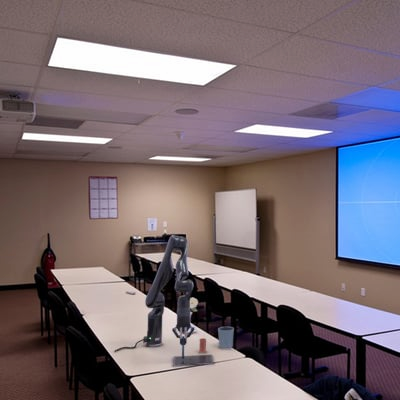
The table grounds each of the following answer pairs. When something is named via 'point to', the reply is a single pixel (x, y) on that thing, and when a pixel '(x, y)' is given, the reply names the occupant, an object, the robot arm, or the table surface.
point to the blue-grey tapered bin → (226, 337)
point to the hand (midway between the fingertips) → (183, 344)
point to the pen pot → (202, 345)
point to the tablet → (193, 360)
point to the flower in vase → (192, 305)
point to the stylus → (183, 347)
